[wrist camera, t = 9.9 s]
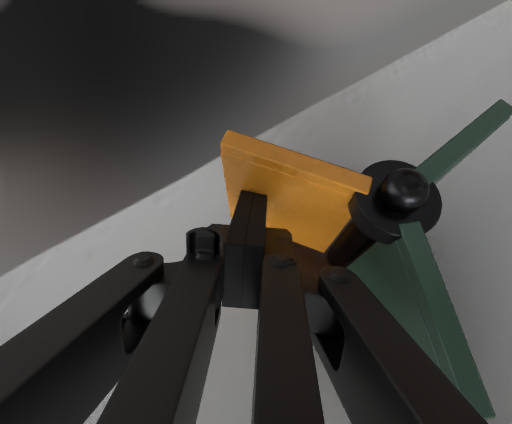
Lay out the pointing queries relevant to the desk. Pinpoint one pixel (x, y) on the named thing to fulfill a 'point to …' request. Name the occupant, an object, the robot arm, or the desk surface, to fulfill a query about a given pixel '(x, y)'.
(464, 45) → the desk surface
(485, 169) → the desk surface
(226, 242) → the robot arm
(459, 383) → the three-panel rotating stand
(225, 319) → the desk surface
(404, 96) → the desk surface
